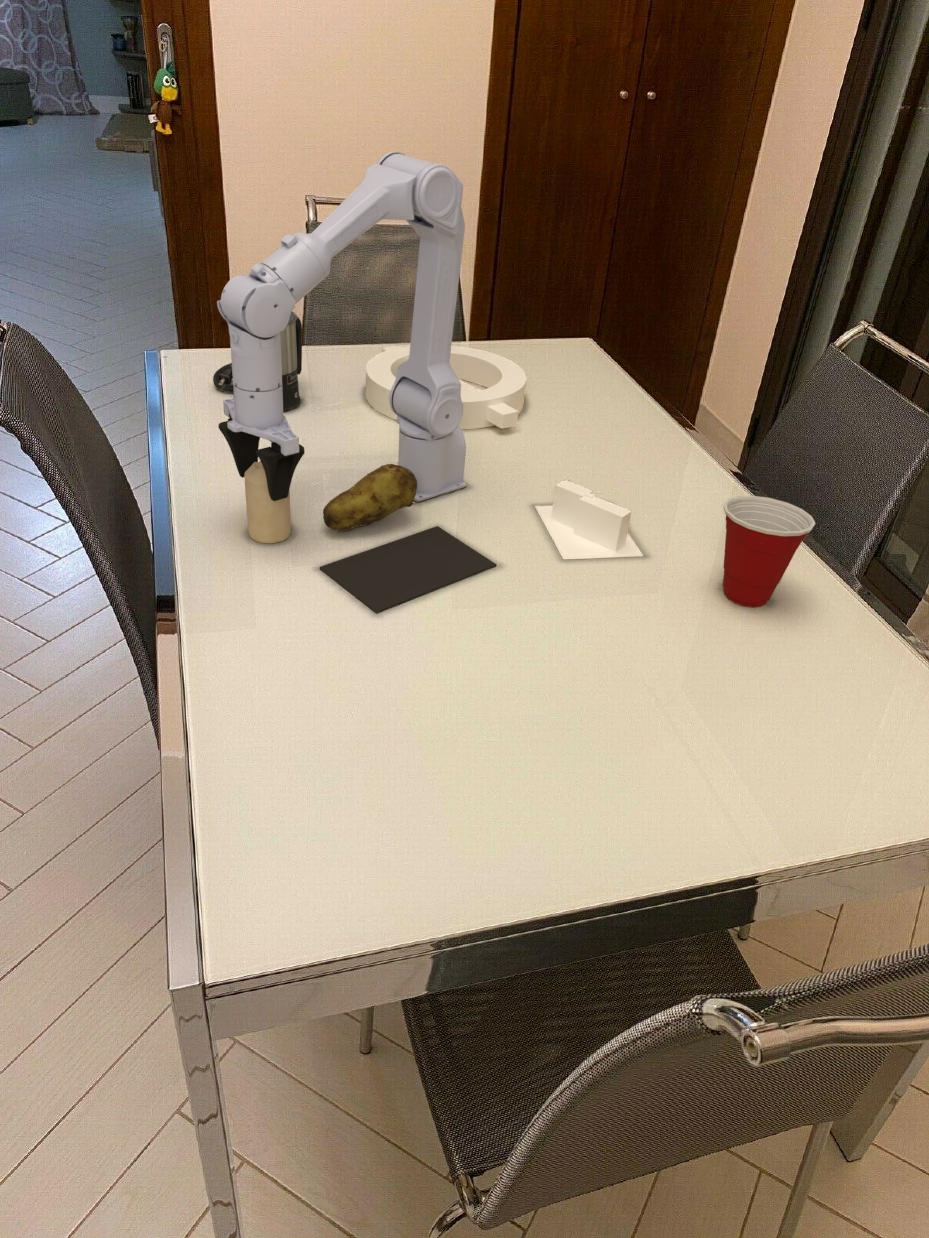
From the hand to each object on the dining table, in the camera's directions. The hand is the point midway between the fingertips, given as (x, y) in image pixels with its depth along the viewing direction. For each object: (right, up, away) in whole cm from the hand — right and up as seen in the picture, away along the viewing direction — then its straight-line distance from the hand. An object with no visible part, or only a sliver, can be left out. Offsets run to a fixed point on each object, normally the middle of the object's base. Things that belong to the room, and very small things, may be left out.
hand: (263, 486), depth 119 cm
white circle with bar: (+22, +22, +48) cm, 57 cm away
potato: (+13, -4, +8) cm, 16 cm away
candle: (0, -6, +4) cm, 7 cm away
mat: (+19, -10, 0) cm, 21 cm away
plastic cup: (+61, -14, 0) cm, 63 cm away
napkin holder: (+43, -5, +11) cm, 44 cm away
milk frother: (-10, +21, +42) cm, 48 cm away
